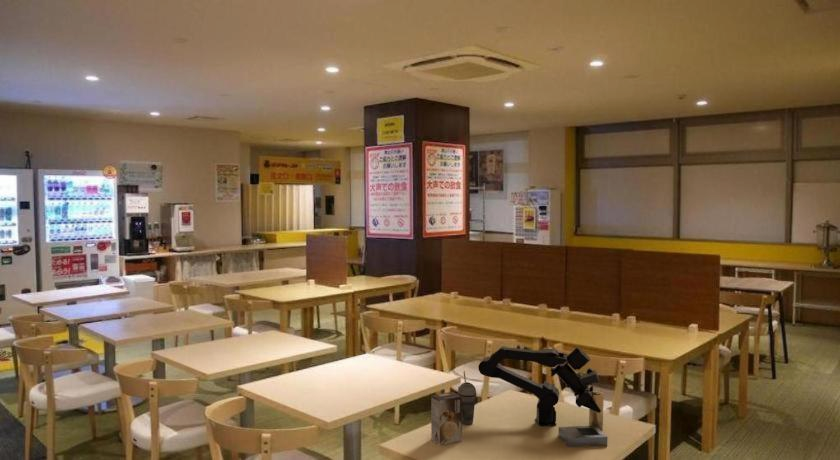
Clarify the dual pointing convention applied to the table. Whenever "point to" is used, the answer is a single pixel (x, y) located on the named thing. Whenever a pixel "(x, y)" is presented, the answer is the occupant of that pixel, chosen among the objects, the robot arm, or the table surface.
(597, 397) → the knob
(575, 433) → the frame
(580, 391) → the robot arm
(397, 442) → the table surface
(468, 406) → the beverage cup
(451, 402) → the coffee box
